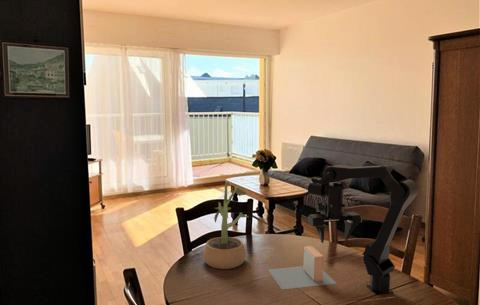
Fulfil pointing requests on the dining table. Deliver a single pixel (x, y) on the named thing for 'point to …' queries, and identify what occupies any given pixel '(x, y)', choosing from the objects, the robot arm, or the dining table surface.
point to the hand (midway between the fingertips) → (334, 241)
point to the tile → (313, 263)
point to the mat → (297, 278)
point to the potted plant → (225, 240)
